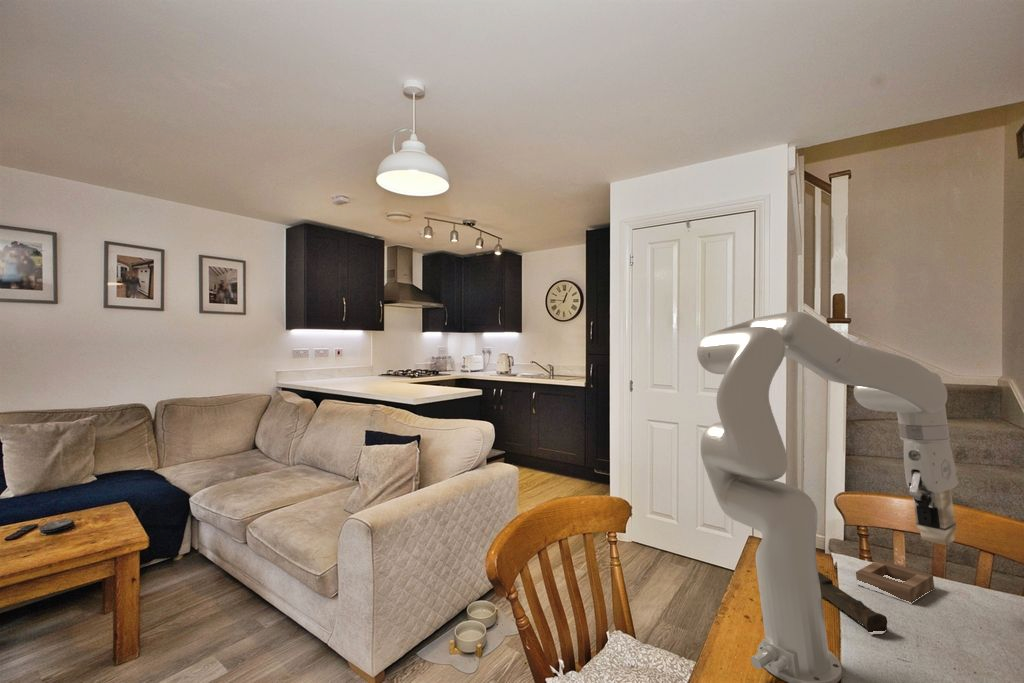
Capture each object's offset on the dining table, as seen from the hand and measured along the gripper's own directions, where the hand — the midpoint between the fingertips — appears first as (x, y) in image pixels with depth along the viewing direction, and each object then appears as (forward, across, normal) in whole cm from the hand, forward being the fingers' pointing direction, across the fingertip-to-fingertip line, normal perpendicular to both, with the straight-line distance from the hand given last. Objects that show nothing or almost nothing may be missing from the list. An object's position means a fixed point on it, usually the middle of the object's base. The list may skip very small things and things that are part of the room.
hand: (935, 522), depth 91 cm
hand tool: (+18, -15, +12) cm, 26 cm away
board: (+17, +3, +10) cm, 20 cm away
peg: (+3, 0, 0) cm, 3 cm away
